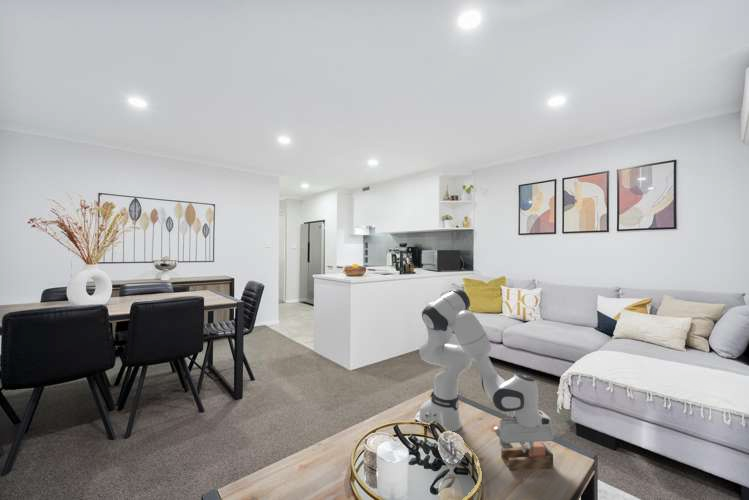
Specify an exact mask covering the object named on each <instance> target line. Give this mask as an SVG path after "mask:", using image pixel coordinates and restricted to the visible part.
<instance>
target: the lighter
mask: <svg viewBox="0 0 749 500" xmlns="http://www.w3.org/2000/svg"><path fill="white" fill-rule="evenodd" d="M493 430H494V432H495V435H496V436H497V437H498V438H499V444H500V445H501V446H507V445H510V444H511V443H504V442H503V441H502V439H501V438H500V427H498V426H494V427H493Z"/></svg>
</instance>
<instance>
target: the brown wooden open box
mask: <svg viewBox="0 0 749 500" xmlns="http://www.w3.org/2000/svg"><path fill="white" fill-rule="evenodd" d="M541 443H542V444H543V445H544V446H545V456H533V457H528V452H526V453H524V452H523V451H522V446H520V447H504V448H503V447H502V448H501V449H500V450H501V459H502V461H503V463H504V464H505V466H506V467H507V468H508V470H509V471H511V472H515V471H529V470H532V471H533V470H546V469H547V470H548V469H550V470H551V469H554V453H553V452H551V450H549V448H547V446H546V445H545V444H544V442H541Z"/></svg>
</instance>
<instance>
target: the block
mask: <svg viewBox="0 0 749 500" xmlns="http://www.w3.org/2000/svg"><path fill="white" fill-rule="evenodd" d="M542 443H543V442H542V441H539V442H534V445H533V446H532V448H531V452H528V457H533V456H545V446H546V445H545V444H544V443H543V444H544V445H545V446H544V445H543V444H542Z"/></svg>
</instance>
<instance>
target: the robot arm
mask: <svg viewBox="0 0 749 500" xmlns="http://www.w3.org/2000/svg"><path fill="white" fill-rule="evenodd" d="M470 306H471V301H470V297H469V296H468V294H467V292H465V291H464V290H462V289H460V288H454V289H451V290H449V291H448V292H446V293H445V294H442V295H440V297H438V298H437V299H436V300H434V301H431V302H429V303H428V304H426V306H425V307H424V309H422V312H421V318H422V321H423V323H424V324H425V326H426V330H427V335H428V339H427V340H426V341H424V342H422V343H421V345H420V348H419V357H420V359H421V360H422V361H424V362H425V363H428V364H431V365H435V366H439V367H440V366H441V367H444V368H445V370H444V371H441V372H438V373H437V374H436V375H435V376H434V380H433V382H434V383H433V385H434V386H433V387H434V388H433V390H432V392H431V393H430V394H429V398H430V399H427V400H426V401H424V402H423V403H422V405H421V406H420V409H419V411H418V412H417V413H416V414H415V417H414V421H415V420H417V421H421V422H426V423H430V422H431V421H432V420H436V421H437V422H439V423H440V424H441V425H442V426H443V427H445V428H446V429H447V430H450V431H453V432H457V431H459V430H460V429H461V428H462V425H463V424H462V420H461V417H460V411H459V408H460V407H459V406H460V398H459V394H458V392H459V391H458V389H459V387H458V386H459V379H460V376H461V375H462V374H463V373H464V372H465V371H466V370H468V369H469V368H470V367H471V366H472V363H473V362H474V364H475V366H476V368H477V370H478V372H479V374H480V377H481V386H482V390H483V392H484V393H485V394H486V395H487V396H488V398H489V400H490V401H491V402H492V404H493V405H494V406H495V408H496V409H497V410H499V411H501V412H504V413H505V412H513V416H509V417H508V416H505V417H503V418H501V419H500V420H499V430H500V438H501V439H502V441H503V442H504V443H510V444H516V443H518V444H519V445H520V447H522V451H523V452H524V453H526V452H531V448H532V446H533V445H534V442H552V441H553V439H554V437H555V435H554V428H553V425H552V422H553V421H552V419H551V417H550V416H548V414H546V413H545V412H543V411H542V410H539V408H538V403H539V391H538V385H537V381H536V379H534V378H533V377H531V376H530V375H528V374H525V373H521V372H520V373H517V372H516V373H515V374H514V375H513V376H512V377H511V378H510V379H507V380H506V379H505V378H504V377H503V375H501V374H500V373H499V372H497V370H496V369H495V367H494V365H493V363H492V361H491V359H490V356H489V354H490V353H491V349H492V346H491V345H492V344H491V342H490V339H489V337H488V335H487V332H486V331H485V329H484V327H483V325H482V323H481V322H480V320H479V319H478V318H477V317H476V315H475V314H474V313H473V312H472V311H470V310H468V309H469V308H470ZM453 332H454V333H453ZM453 334H454V335H455V336H456V339H457V341H458V343H459V344H454V343H449V342H450V341H451V340H452V338H453ZM417 421H416V422H417ZM500 438H499V439H500ZM526 443H527V445H526Z"/></svg>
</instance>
